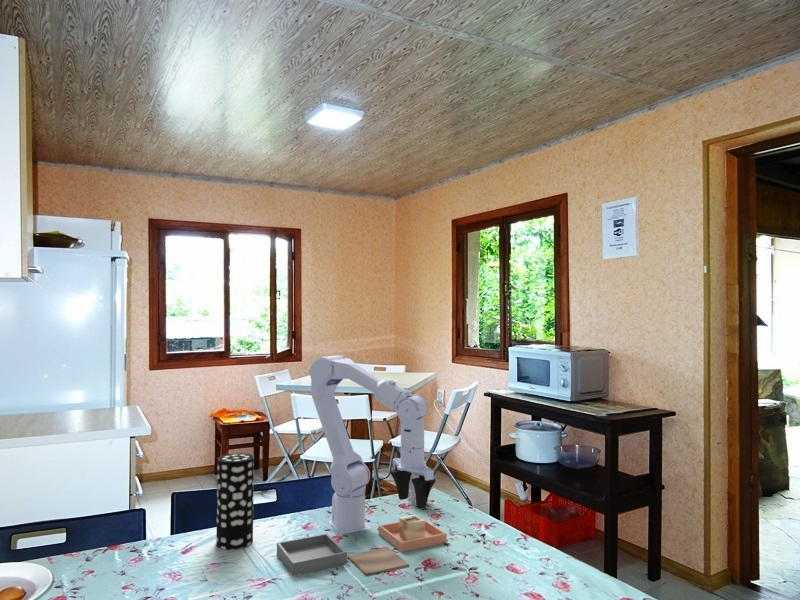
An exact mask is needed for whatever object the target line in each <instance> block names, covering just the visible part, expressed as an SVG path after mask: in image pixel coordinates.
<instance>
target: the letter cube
mask: <svg viewBox="0 0 800 600" xmlns="http://www.w3.org/2000/svg"><path fill="white" fill-rule="evenodd" d="M422 518H423V517H420V516H419V515H418V514H412V515H405V516H400V517H399V521H398V522H399V536H400V537H401V538H402V539H404V540H405V541H409V540H414V539H418V538H423V537H425V520H426V519H424V518H423V519H424V520H423V519H422Z"/></svg>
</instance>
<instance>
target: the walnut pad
mask: <svg viewBox="0 0 800 600" xmlns="http://www.w3.org/2000/svg"><path fill="white" fill-rule="evenodd" d="M348 559H349V561H350V562H352V564H354V565H355V566H356V568H358V569H359V571H360V572H362V573H363V574H364V576H366V577H367V576H372V575H376V574H381V573H384V572H388V571H389V572H390V571H393V570H398V569H403V568H408V567H409V566H410V564H409V562H407V561H406V560H405V559H404V558H402V557H401V556H400V555H399V554H398V553H396V552H395V551H394V550H392V549H391V548H390V547H388V546H386V547H381V548H375V549H372V550H367V551H362V552H357V553H353V554H347V560H348Z"/></svg>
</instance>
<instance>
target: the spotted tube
mask: <svg viewBox="0 0 800 600" xmlns="http://www.w3.org/2000/svg"><path fill="white" fill-rule="evenodd" d="M254 467H255V456H254V454H251V453H241V452H240V453H239V452H238V453H229V454H224V455H223V454H222V455H221V456H219V457H217V468H216V469H217V472H216V474H217V475H216V476H217V477H216V478H217V480H216V483H217V485H216V535H215V539H216V545H215V546H216V547H217V548H219V549H221V550H227V551H229V550H230V551H233V550H240V549H244V548H246V547H249V546H250V545H252V544H253V542H254V488H255V487H254V481H255V479H254V478H255V477H254V475H255V468H254Z"/></svg>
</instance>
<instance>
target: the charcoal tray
mask: <svg viewBox="0 0 800 600" xmlns="http://www.w3.org/2000/svg"><path fill="white" fill-rule="evenodd" d="M347 555H348V552H347V551H346V550H345V549H344V548H343V547H342V546H341V545H340V544H339V543H338V542H337V541H336V540H335V539H334V538H333V537H332V536H331V535H329V534H328V533H323V534H318V535H311V536H306V537H301V538H296V539H295V538H294V539H291V540H284V541H279V542H276V556H278V558H279V560H280V561H281V562H282V564H283V565H284V566H285V567H286V569H287V570H288V571H289V573H290V574H291V575H292V576H293V577H295V576H299V575H304V574H309V573H314V572H318V571H323V570H327V569H331V568H332V569H333V568H336V567H340V566H345V564H344V563H347V561H348V558H347Z"/></svg>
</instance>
